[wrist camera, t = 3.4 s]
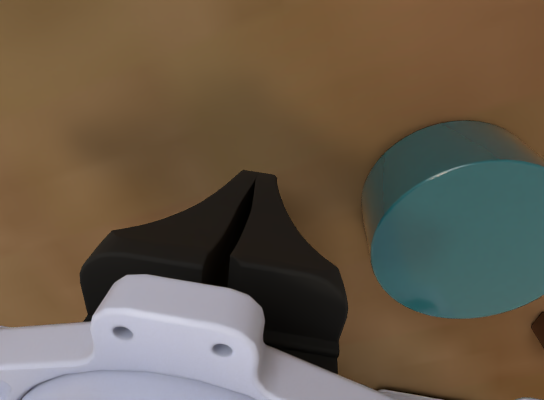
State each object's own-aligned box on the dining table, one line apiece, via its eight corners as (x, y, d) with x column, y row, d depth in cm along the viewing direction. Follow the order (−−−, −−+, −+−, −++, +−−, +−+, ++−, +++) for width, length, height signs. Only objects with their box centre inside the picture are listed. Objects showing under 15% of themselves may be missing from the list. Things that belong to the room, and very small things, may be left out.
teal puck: (490, 271, 17) (525, 332, 14) (344, 247, 17) (350, 303, 15) (573, 135, 14) (644, 180, 11) (387, 106, 14) (405, 143, 11)
